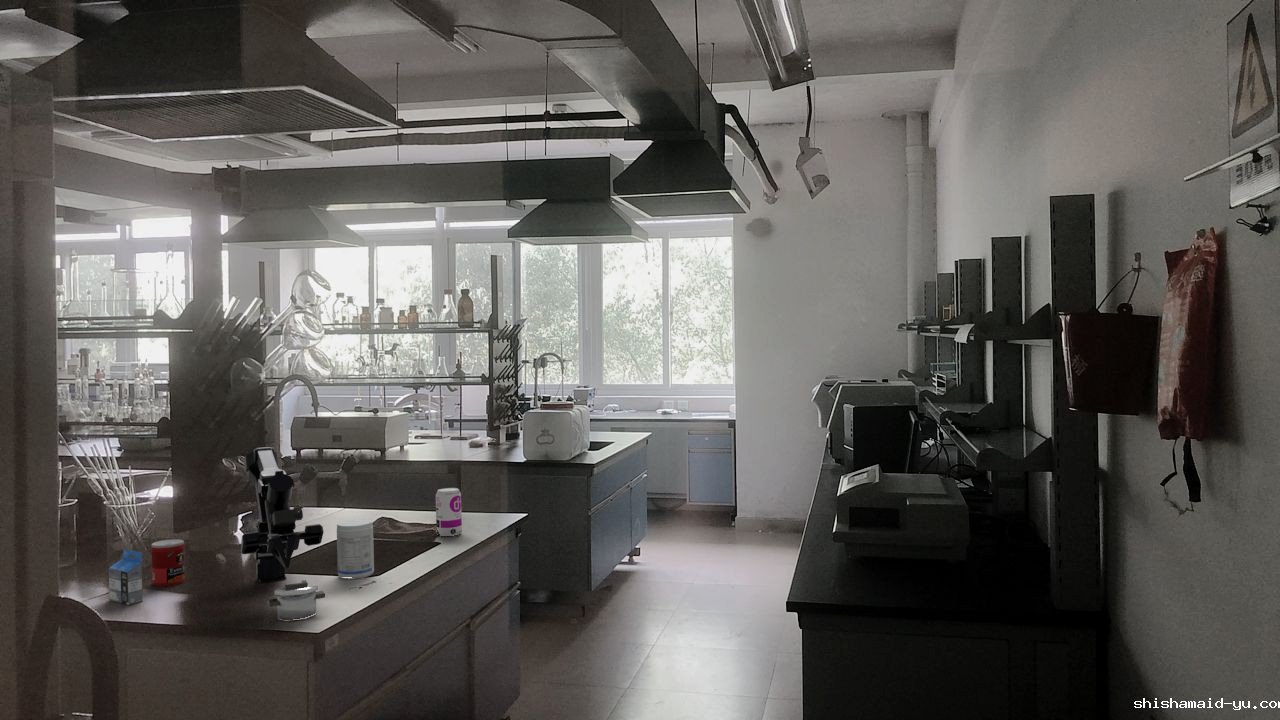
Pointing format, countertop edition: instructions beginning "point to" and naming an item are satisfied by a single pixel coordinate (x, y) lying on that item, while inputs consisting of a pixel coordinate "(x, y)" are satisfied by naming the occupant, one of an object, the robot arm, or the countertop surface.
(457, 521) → the supplement can
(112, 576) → the blue and grey carton
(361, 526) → the supplement tub
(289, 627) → the countertop surface
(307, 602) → the pot
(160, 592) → the countertop surface
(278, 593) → the lid
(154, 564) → the canned food
